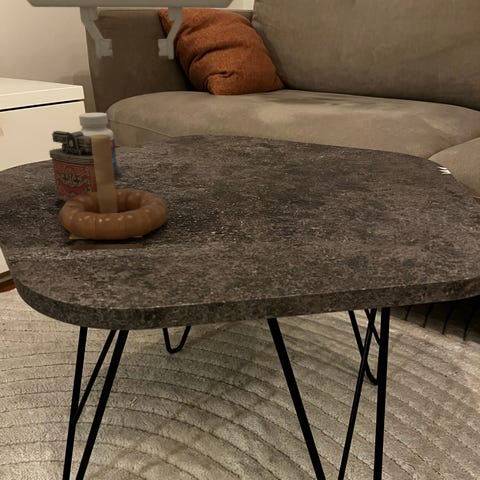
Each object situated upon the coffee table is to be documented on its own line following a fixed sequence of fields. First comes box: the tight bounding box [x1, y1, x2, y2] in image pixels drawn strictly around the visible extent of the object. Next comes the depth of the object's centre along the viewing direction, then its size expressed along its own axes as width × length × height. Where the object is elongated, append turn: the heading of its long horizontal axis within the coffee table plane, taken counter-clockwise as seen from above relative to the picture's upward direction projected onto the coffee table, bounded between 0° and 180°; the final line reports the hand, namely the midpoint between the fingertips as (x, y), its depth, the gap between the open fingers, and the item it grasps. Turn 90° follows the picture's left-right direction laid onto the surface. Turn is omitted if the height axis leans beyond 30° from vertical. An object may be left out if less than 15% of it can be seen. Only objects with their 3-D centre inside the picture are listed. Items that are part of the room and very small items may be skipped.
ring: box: [58, 188, 169, 241], centre depth 68 cm, size 12×12×3 cm
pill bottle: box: [78, 112, 118, 175], centre depth 88 cm, size 6×5×10 cm
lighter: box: [48, 130, 97, 203], centre depth 76 cm, size 8×3×10 cm, turn 59°
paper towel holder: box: [68, 134, 145, 251], centre depth 66 cm, size 8×8×12 cm
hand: (135, 58), depth 60 cm, fingers open, 5 cm apart
